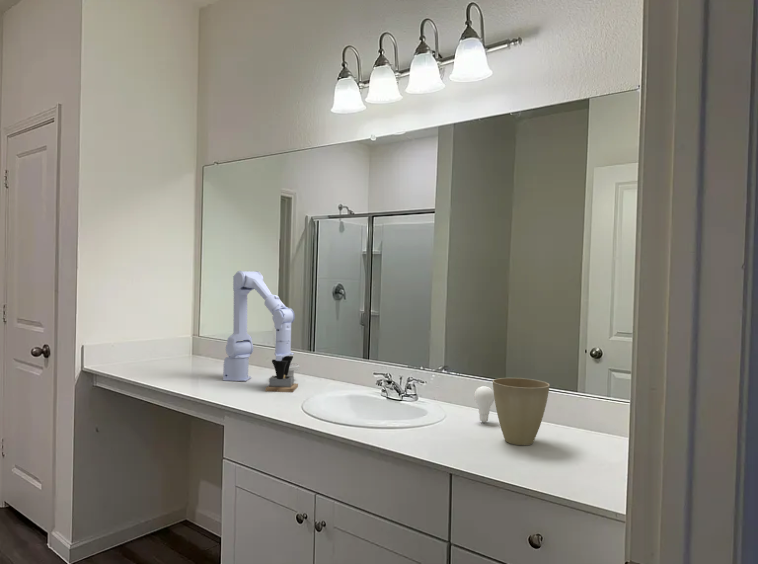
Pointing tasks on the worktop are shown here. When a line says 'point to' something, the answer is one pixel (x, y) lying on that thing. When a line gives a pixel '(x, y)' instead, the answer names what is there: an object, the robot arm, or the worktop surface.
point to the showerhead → (292, 369)
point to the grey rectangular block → (281, 381)
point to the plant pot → (520, 408)
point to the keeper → (282, 388)
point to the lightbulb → (484, 401)
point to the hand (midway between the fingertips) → (282, 377)
